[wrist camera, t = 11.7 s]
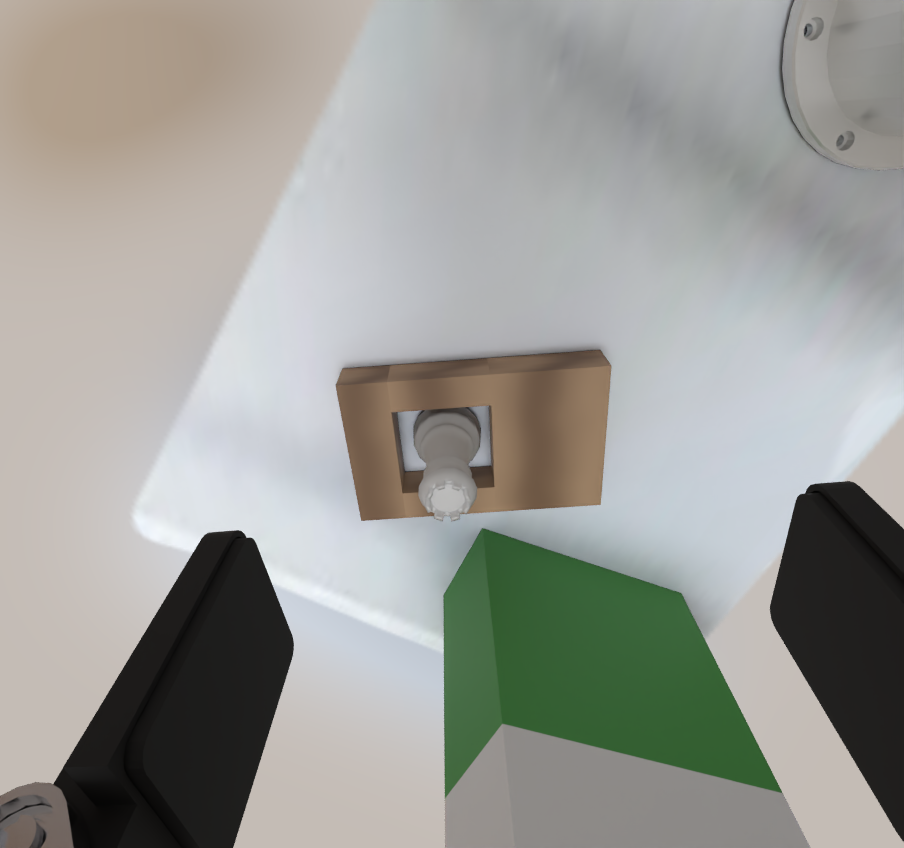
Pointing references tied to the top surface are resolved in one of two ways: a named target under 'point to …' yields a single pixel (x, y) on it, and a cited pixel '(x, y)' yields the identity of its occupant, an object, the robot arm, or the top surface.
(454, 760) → the hardback book
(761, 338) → the top surface
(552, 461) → the socket board
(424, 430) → the rook chess piece
